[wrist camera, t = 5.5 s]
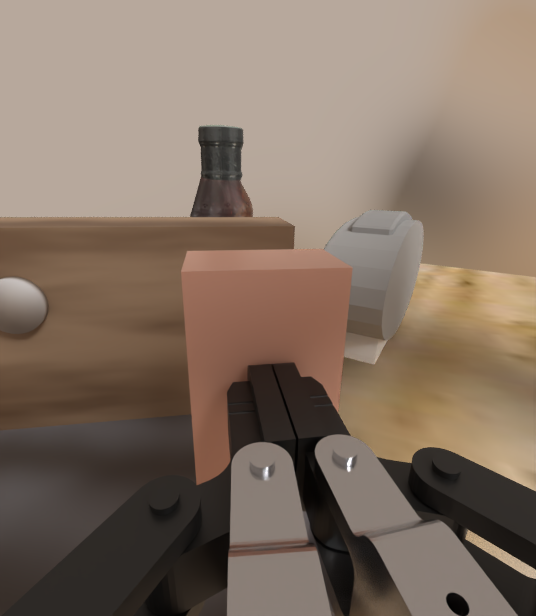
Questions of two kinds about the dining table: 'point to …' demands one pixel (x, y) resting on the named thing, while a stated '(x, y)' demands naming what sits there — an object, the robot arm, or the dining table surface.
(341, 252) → the alarm clock
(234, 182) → the sauce bottle
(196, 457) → the salmon pink block
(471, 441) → the dining table surface
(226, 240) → the switch block
